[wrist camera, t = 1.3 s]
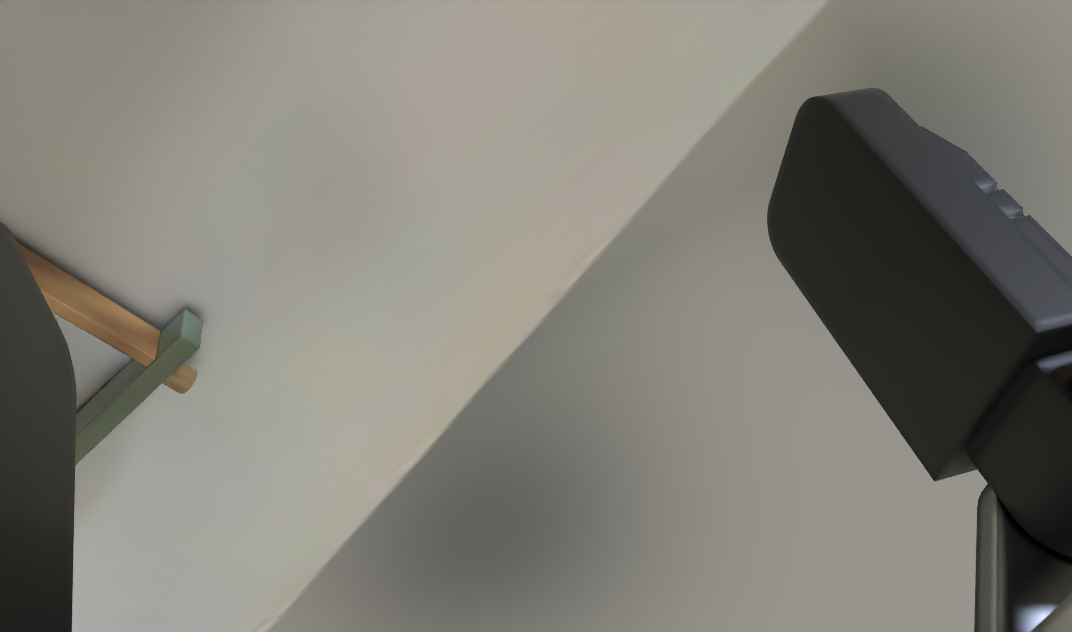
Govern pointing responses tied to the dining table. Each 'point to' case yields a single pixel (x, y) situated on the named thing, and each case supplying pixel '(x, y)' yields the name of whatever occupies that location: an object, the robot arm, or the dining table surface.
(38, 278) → the drawer
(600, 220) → the dining table surface
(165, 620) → the dining table surface
